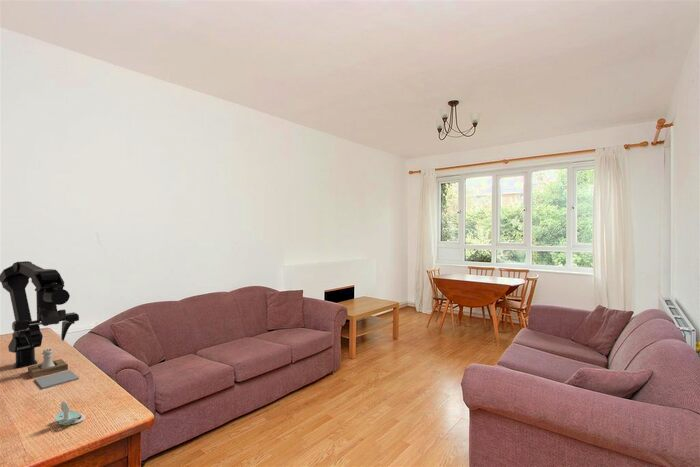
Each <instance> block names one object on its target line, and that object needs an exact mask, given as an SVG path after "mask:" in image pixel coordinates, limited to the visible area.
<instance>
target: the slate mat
mask: <svg viewBox="0 0 700 467" xmlns="http://www.w3.org/2000/svg"><path fill="white" fill-rule="evenodd" d="M77 380H80V377H79V376H78V375H77V374H75V373H74V372H73V371H72V370H71V369H68V370H64V371H60V372H56V373H52V374H48V375H44V376H40V377H36V378H34V381H35V382H36V384H37V385H38V386H39V387H40V389H41V390H44V389H49V388H52V387H54V386H55V387H56V386H58V385H62V384H66V383H69V382H73V381H74V382H75V381H77Z"/></svg>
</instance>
